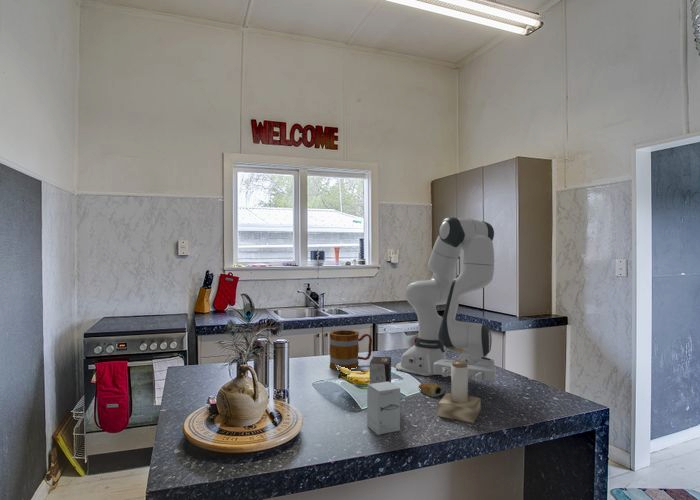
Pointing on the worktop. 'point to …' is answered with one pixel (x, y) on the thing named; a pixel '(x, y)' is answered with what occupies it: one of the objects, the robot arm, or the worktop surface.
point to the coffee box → (380, 370)
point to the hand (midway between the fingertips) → (458, 376)
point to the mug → (346, 348)
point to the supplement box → (383, 407)
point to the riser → (459, 408)
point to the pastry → (431, 389)
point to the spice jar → (459, 382)
